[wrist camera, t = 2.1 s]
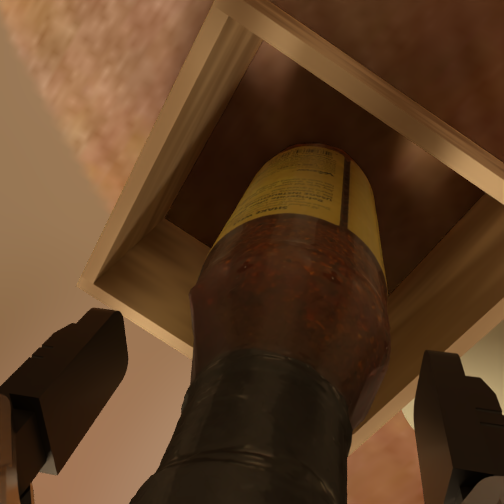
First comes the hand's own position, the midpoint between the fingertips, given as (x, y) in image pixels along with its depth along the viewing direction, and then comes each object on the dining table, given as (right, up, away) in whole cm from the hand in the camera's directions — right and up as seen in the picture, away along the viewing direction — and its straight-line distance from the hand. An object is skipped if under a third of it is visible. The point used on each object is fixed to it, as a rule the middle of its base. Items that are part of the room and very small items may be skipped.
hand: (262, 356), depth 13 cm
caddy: (+3, +6, +12) cm, 14 cm away
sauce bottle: (+3, +6, +12) cm, 14 cm away
